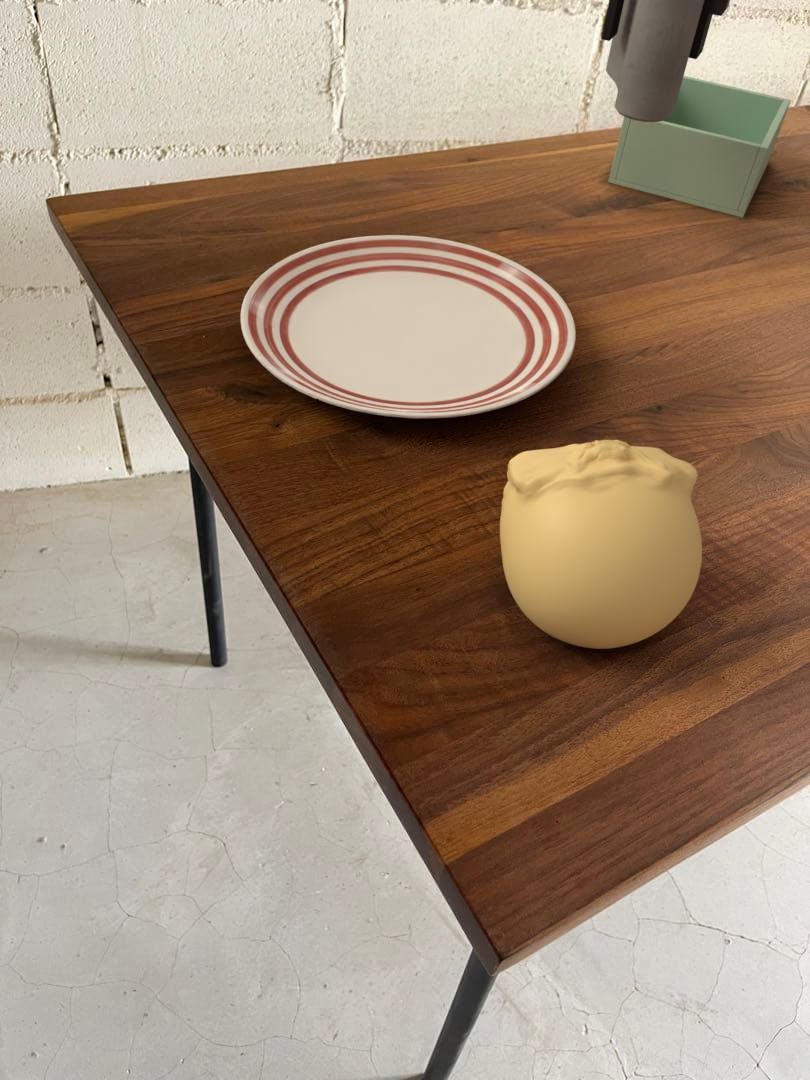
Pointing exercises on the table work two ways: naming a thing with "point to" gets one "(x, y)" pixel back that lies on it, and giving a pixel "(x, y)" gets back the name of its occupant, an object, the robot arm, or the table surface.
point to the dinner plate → (408, 326)
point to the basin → (702, 147)
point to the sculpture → (600, 540)
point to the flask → (652, 56)
